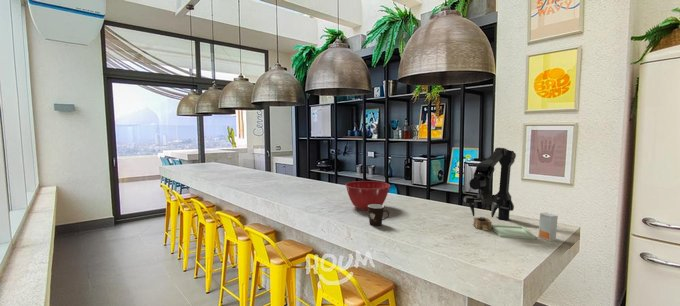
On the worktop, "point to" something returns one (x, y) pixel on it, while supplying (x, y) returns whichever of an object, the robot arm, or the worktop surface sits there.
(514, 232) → the tray
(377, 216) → the coffee mug
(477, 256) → the worktop surface
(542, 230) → the skincare box
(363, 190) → the mixing bowl
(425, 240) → the worktop surface
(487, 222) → the wooden lantern frame
